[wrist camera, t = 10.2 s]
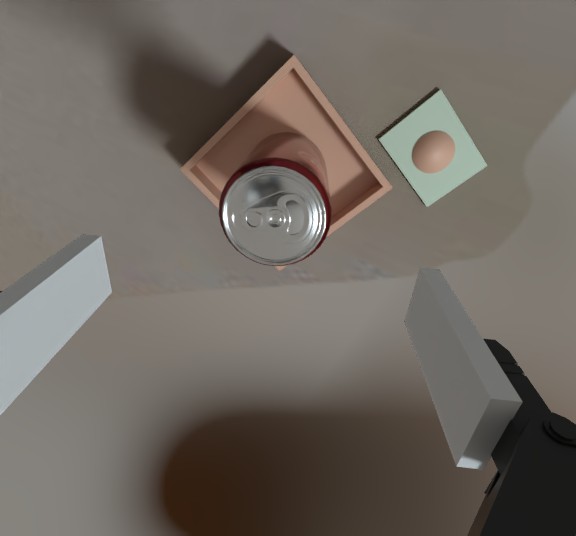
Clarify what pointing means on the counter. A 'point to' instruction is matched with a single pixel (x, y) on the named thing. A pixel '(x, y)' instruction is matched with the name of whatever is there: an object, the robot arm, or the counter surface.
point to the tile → (433, 149)
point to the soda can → (278, 201)
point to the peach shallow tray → (301, 120)
